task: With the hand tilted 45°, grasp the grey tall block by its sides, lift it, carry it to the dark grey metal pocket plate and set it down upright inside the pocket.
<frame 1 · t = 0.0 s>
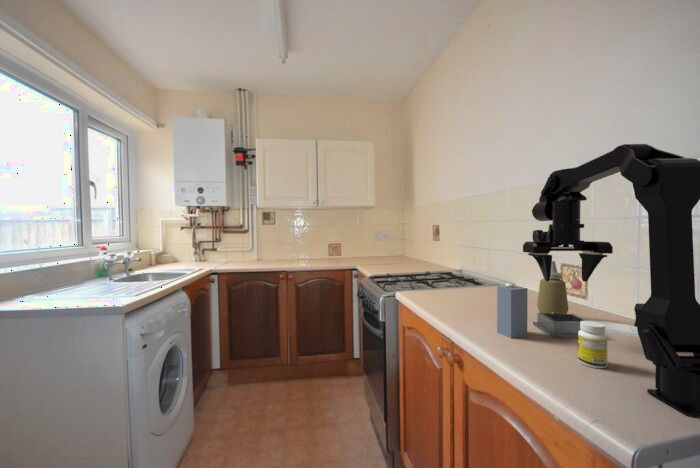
hand: (565, 281, 75), 15 cm above the worktop, tool pointing down, fingers open, 9 cm apart
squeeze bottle: (552, 319, 91), on the worktop
pocket plate: (563, 331, 80), on the worktop
grey tall block: (512, 334, 78), on the worktop
supplement bottle: (592, 364, 61), on the worktop
hard drive: (606, 330, 83), on the worktop
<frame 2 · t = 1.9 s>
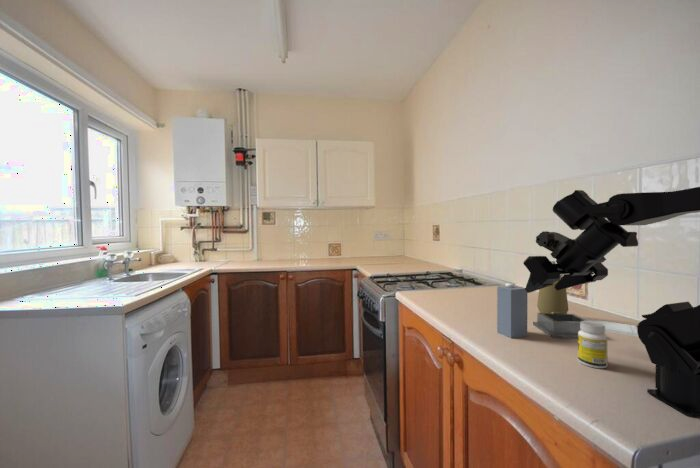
hand: (541, 289, 70), 13 cm above the worktop, tool tilted 45°, fingers open, 9 cm apart
nothing on the worktop moved.
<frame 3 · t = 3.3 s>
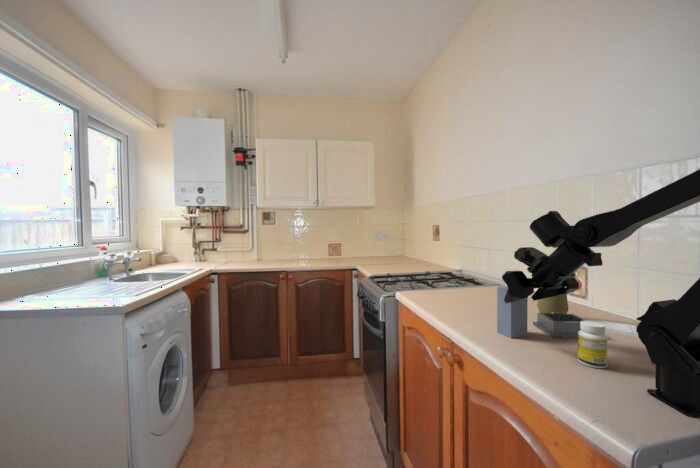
hand: (519, 300, 76), 10 cm above the worktop, tool tilted 45°, fingers open, 9 cm apart
nothing on the worktop moved.
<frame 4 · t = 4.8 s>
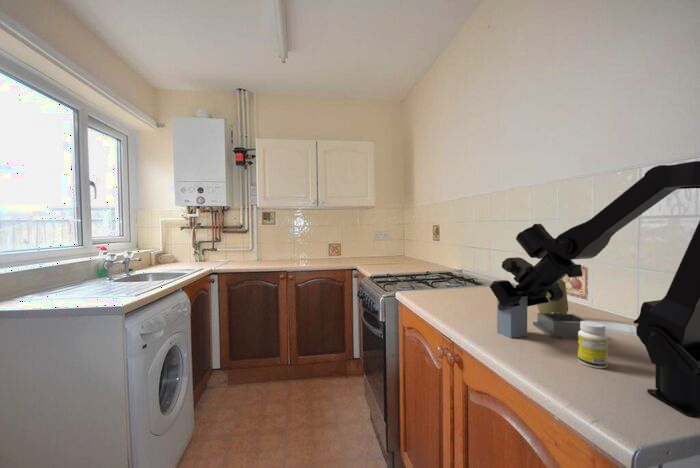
hand: (507, 308, 79), 7 cm above the worktop, tool tilted 45°, fingers closed on grey tall block, 5 cm apart
grey tall block: (511, 333, 78), on the worktop, touching gripper
everything else where it was.
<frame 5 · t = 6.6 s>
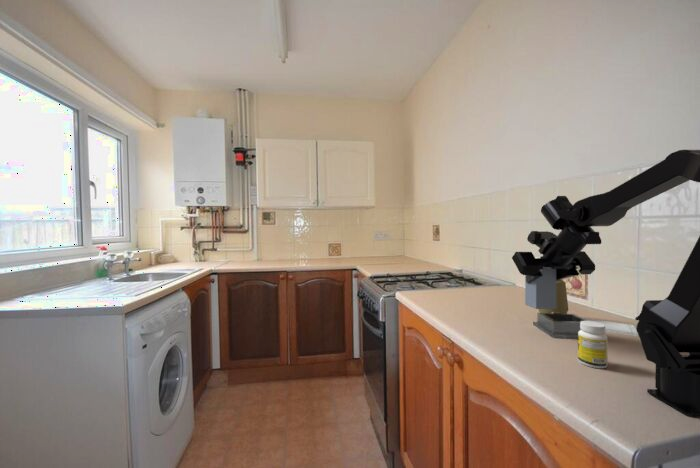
hand: (537, 281, 81), 13 cm above the worktop, tool tilted 45°, fingers closed on grey tall block, 5 cm apart
grey tall block: (540, 306, 80), point 7 cm above the worktop, touching gripper
everything else where it was.
when the fingers open (9 cm above the worktop, at t = 8.5 s): grey tall block drops 1 cm, resting on pocket plate.
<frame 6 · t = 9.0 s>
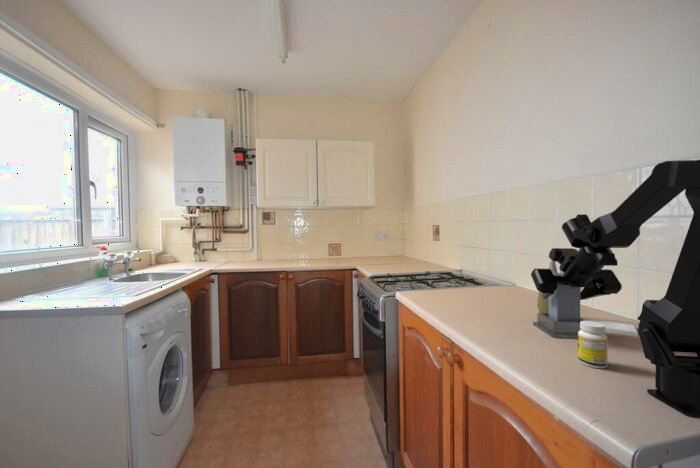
hand: (561, 298, 81), 9 cm above the worktop, tool tilted 45°, fingers open, 9 cm apart
grey tall block: (563, 328, 80), point 1 cm above the worktop, touching pocket plate
everything else where it was.
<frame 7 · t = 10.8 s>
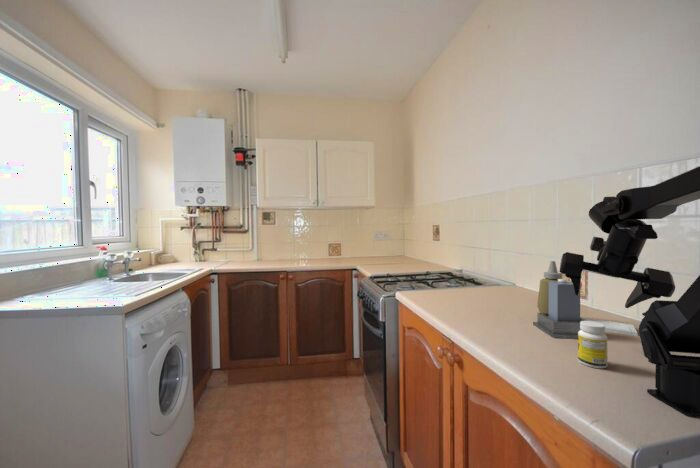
hand: (600, 300, 69), 11 cm above the worktop, tool tilted 30°, fingers open, 9 cm apart
nothing on the worktop moved.
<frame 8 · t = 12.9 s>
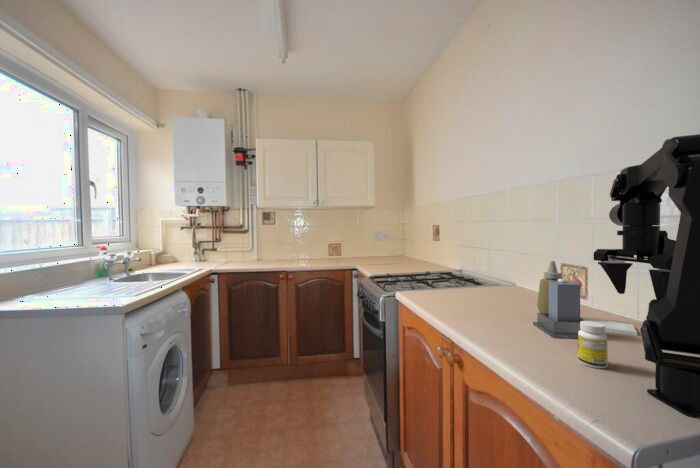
hand: (640, 298, 63), 13 cm above the worktop, tool pointing down, fingers open, 9 cm apart
nothing on the worktop moved.
at the end: grey tall block inside the target area on the pocket plate (0.0 cm from its centre), point 0.8 cm above the pocket plate's base; grey tall block tilted 0°; the gripper is holding nothing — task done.
